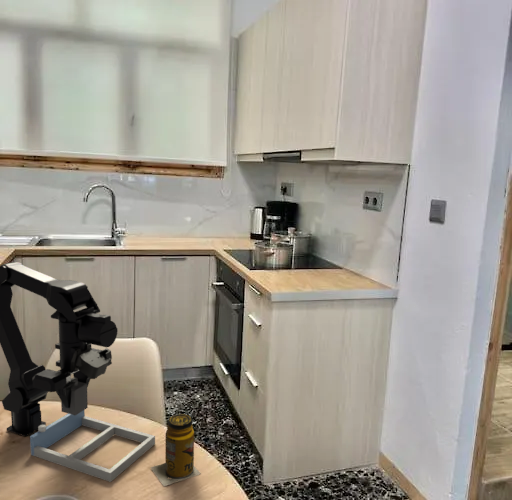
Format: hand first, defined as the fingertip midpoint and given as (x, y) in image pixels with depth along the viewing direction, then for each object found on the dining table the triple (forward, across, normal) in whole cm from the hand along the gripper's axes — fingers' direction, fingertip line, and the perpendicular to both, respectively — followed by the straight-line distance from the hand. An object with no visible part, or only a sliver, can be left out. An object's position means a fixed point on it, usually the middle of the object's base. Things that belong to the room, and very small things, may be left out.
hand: (74, 403), depth 116 cm
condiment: (+10, +1, -27) cm, 28 cm away
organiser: (+10, 0, -6) cm, 11 cm away
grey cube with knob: (+2, 0, 0) cm, 2 cm away
